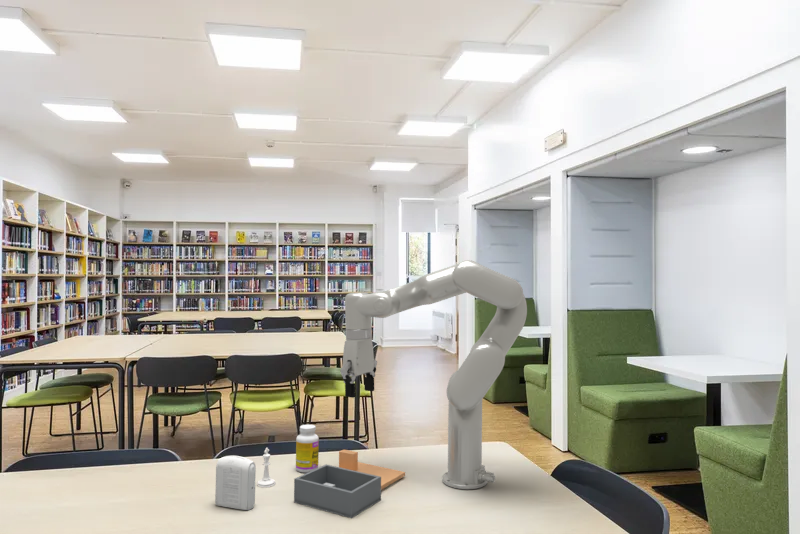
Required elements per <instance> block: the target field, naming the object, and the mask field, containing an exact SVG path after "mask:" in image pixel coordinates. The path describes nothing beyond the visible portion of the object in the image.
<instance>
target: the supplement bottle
mask: <svg viewBox="0 0 800 534" xmlns="http://www.w3.org/2000/svg"><path fill="white" fill-rule="evenodd" d="M316 431H317V429H316V425H314V424H302V425H300V426H299V434H298V435H297V436H296V440H295V441H296V442H295V446H296V447H295V470H296V471H297V472H299V473H303V474H306V473H308V472H310V471H312V470H315V469H317V468H319V444H320V443H319V442H320V438H319V436H318V434H316Z"/></svg>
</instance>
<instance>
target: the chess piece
mask: <svg viewBox="0 0 800 534" xmlns="http://www.w3.org/2000/svg"><path fill="white" fill-rule="evenodd" d="M269 451H270V449H269V447H266V448H265V450H264V451H263V453H264V454H263V455H262V458H263V461H264V462H262V465H263V466H264V467H263V468H264V470H263V476H262V478H261V479H259V480H258V481H257V482H256V483H257V484H256V485H257V486H258V487H259V488H270V486H271V487H273V486H275V485H276V480H275V479H274V478H272V477H270V471H269V469H270V468H269V466H270V465H271V462H270V458H271V454H270V453H269Z"/></svg>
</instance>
